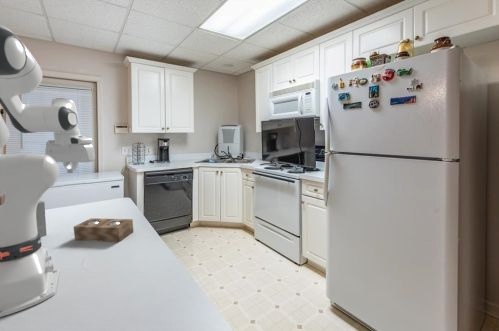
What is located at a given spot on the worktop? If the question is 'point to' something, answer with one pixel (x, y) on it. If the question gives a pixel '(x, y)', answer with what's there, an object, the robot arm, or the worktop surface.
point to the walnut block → (103, 230)
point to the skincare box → (41, 218)
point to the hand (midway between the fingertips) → (71, 172)
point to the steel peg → (93, 222)
